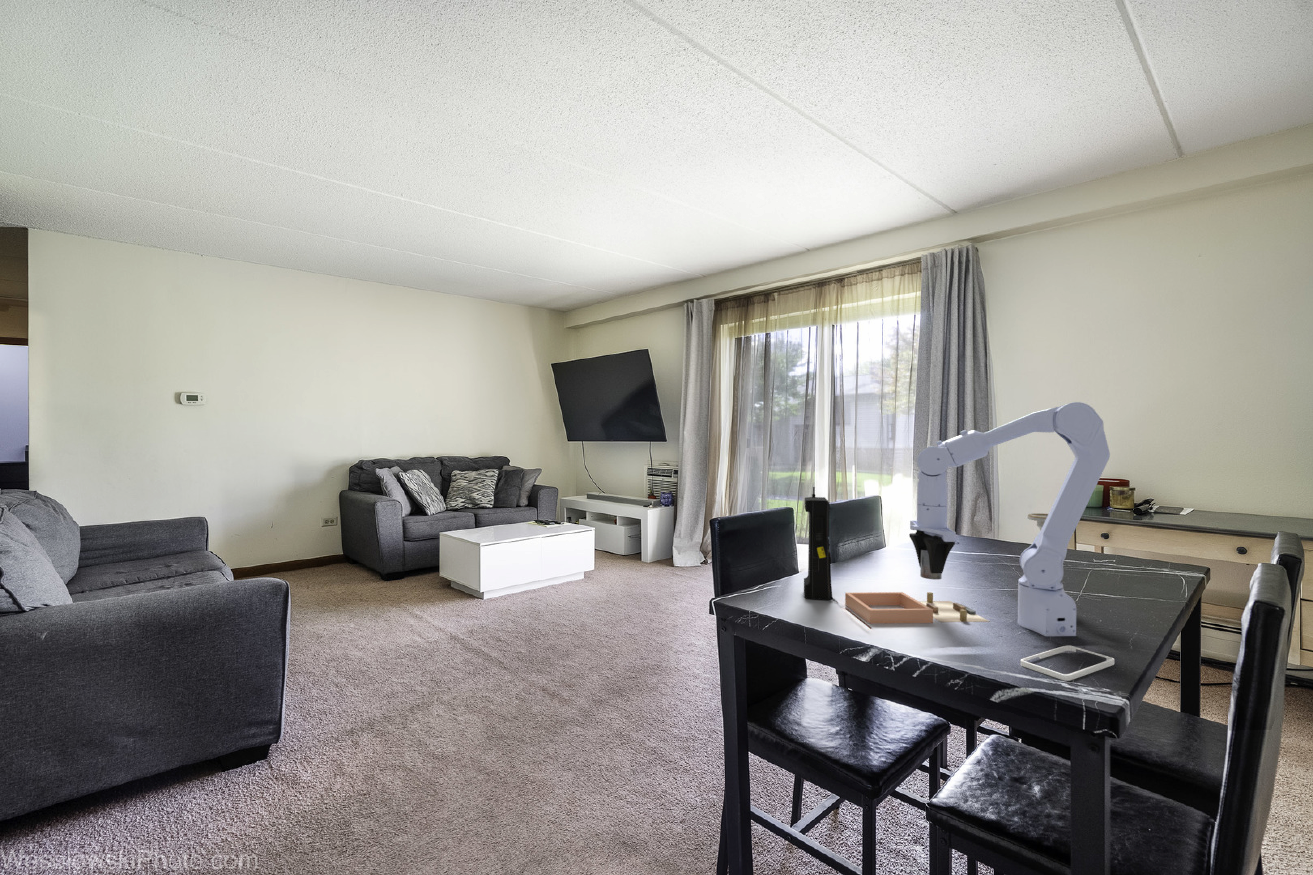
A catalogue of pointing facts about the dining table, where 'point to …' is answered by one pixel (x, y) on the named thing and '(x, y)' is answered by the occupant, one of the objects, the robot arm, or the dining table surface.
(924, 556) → the battery cell
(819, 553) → the portable radio
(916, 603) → the low rectangular frame
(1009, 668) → the dining table surface
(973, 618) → the checker cradle
